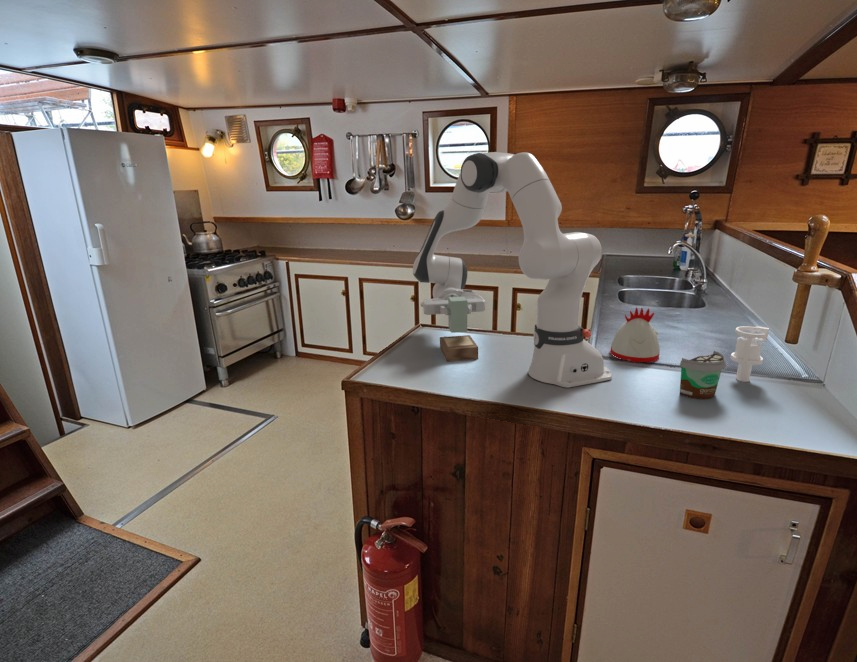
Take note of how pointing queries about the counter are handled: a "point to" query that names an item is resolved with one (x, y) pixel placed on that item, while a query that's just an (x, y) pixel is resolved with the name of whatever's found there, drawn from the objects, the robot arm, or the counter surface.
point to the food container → (701, 375)
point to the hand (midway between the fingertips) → (458, 312)
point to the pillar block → (457, 314)
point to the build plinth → (458, 348)
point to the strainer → (748, 350)
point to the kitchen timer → (636, 339)
